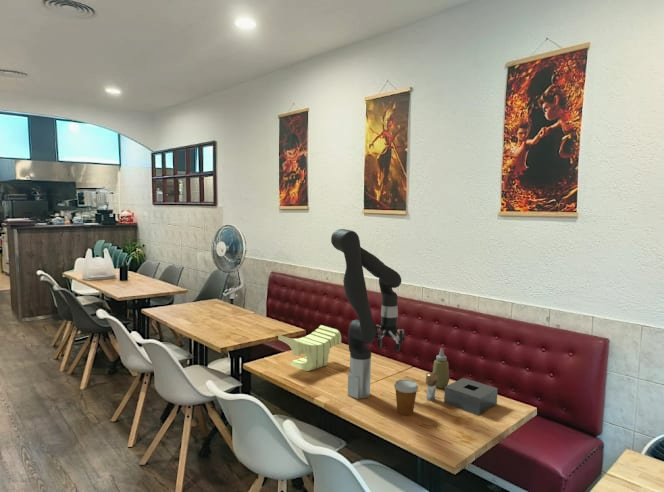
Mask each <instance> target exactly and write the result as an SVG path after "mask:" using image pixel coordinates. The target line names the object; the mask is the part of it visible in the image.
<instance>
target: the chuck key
mask: <svg viewBox="0 0 664 492" xmlns="http://www.w3.org/2000/svg"><path fill="white" fill-rule="evenodd" d="M425 384H426V400H427V401H430V402H431V401H432V402H433V401H436V388H437V387H436V385H437V374H436V373H433V372H426V373H425Z"/></svg>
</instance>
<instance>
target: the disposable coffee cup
mask: <svg viewBox="0 0 664 492" xmlns="http://www.w3.org/2000/svg"><path fill="white" fill-rule="evenodd" d="M393 387H394V389H395V399H396V409H397V410H396V411H397V413H398V414H400V415H402V416H411V415H413V414H414V408H415V403H416V397H417V391H418V390H419V386H418V383H417V382H416V381H414V380H411V379H406V378H405V379H403V378H402V379H398V380H396V381H395V383H394V386H393Z"/></svg>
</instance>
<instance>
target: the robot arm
mask: <svg viewBox="0 0 664 492" xmlns="http://www.w3.org/2000/svg"><path fill="white" fill-rule="evenodd" d="M330 240H331V241H330V242H331V245H332V246H333V248H335V249H336V250H337V251H339V252H342V253H343V255H344V259H345V272H344V276H343V287H344V289H343V290H344V293H345V297H346V299H347V301H348V303H349V305H350V306H351V307H352V309H353V310H354V312H355V313H356V315H357V318H358V319H354V320H353V319H352V321H351V322H350V325H349V326H348V327H349V328H348V351H349V354H350V355H349V373H348V374H347V395H348V396H350V397H351V398H354V399H356V400H358V399H366V398H369V397H370V395H371V372H372V371H371V369H372V368H371V367H372V365H371V364H372V351H371V349H370V348H369V347H368V346H366V344H372V343H373V342H374V340H375V339H376V340H377V347H378V349H382V348H383V338H384V337H386V338H388V337H389V338H392V339H393V340H394V341H395V352H399V351H400V350H401V344H402V343H404V342H405V329H404V328H402V329H400V328H398V322H399V321H398V316H399V309H398V294H397V292H395V291H394V290H393V289H395V288H398V287H400V285H401V284H402V277H401V275H400V274H399V273H398V271H396V270H394V269H393V268H392V267H389V266H388V265H386V264H385V263H384V262H383V261H382V260H380V259H379V258H378V257H377V256H376V255H374V254H373V253H371V252H370V251H368V250H366V249H365V248H363V247H362V246H361V241H360V240H361V239H360V237H359V235H358V233H357V232H355V231H354V230H350V229H345V228H339V229H336V230H334V231H333V232H332V234H331V238H330ZM364 269H365V270H367V272H369V273H370V274H371V275H372V276H374V277H375V278H378V285H379V290H380V293H381V308H380V324H375V321H374V317H373V315H372V311H371V307H370V301H369V298H368V297H369V296H368V291H367V285H366V279H365V276H364V275H365V274H364ZM380 331H381V333H380ZM379 333H380V334H379Z"/></svg>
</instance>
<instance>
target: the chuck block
mask: <svg viewBox="0 0 664 492" xmlns="http://www.w3.org/2000/svg"><path fill="white" fill-rule="evenodd" d="M498 391H499V390H498V387H495V386H492V385H489V384H486V383H485V384H484V383H482V382H478V381H475V380H471V379H469V378H465V377H462V378H460V379H458V380H456V381H454V382H451V383H450V384H448V385H447V386H446V387H445V388H444V400H443V403H444V404H446V405H449V406H452V407H455V408H458V409H460V410H463V411H465V412H469V413H472V414H474V415H477V416H481V415H482V414H484V413H485V412H487V411H488V410H490V409H492V408H493V407H494V406H496V405H497V404H498Z"/></svg>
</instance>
